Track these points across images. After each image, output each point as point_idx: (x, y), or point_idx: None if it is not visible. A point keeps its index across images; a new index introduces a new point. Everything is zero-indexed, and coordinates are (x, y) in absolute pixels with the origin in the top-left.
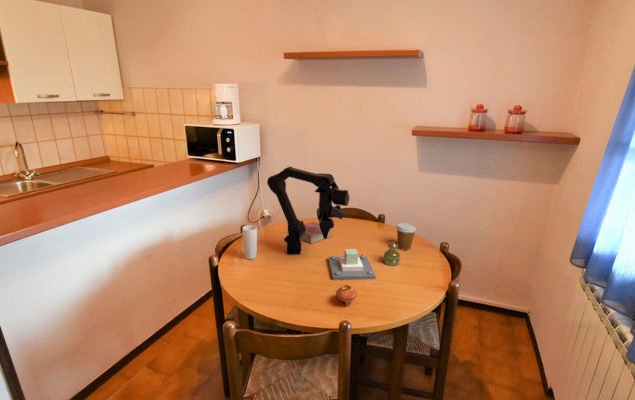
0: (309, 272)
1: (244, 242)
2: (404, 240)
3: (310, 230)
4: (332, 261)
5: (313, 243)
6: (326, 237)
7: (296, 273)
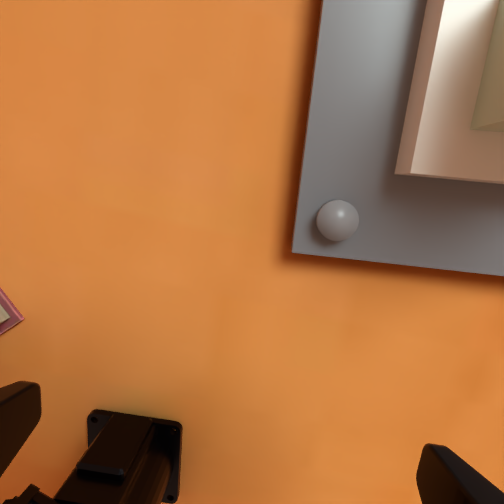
0: (452, 414)
1: None
2: None
3: None
4: (385, 236)
5: (8, 299)
6: (472, 477)
7: None
